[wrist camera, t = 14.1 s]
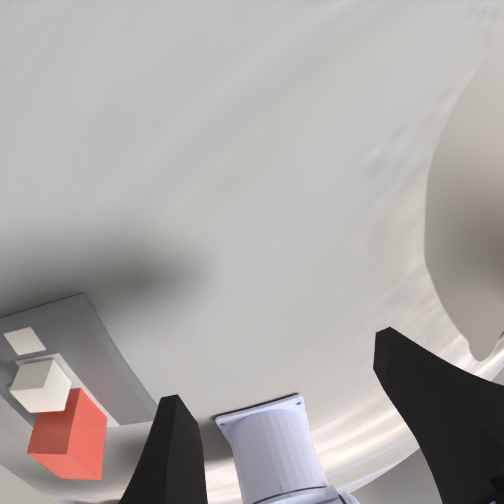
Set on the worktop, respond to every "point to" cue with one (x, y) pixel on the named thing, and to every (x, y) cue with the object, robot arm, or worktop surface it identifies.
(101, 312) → the worktop surface
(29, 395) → the block
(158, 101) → the worktop surface
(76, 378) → the breaker panel
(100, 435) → the block
